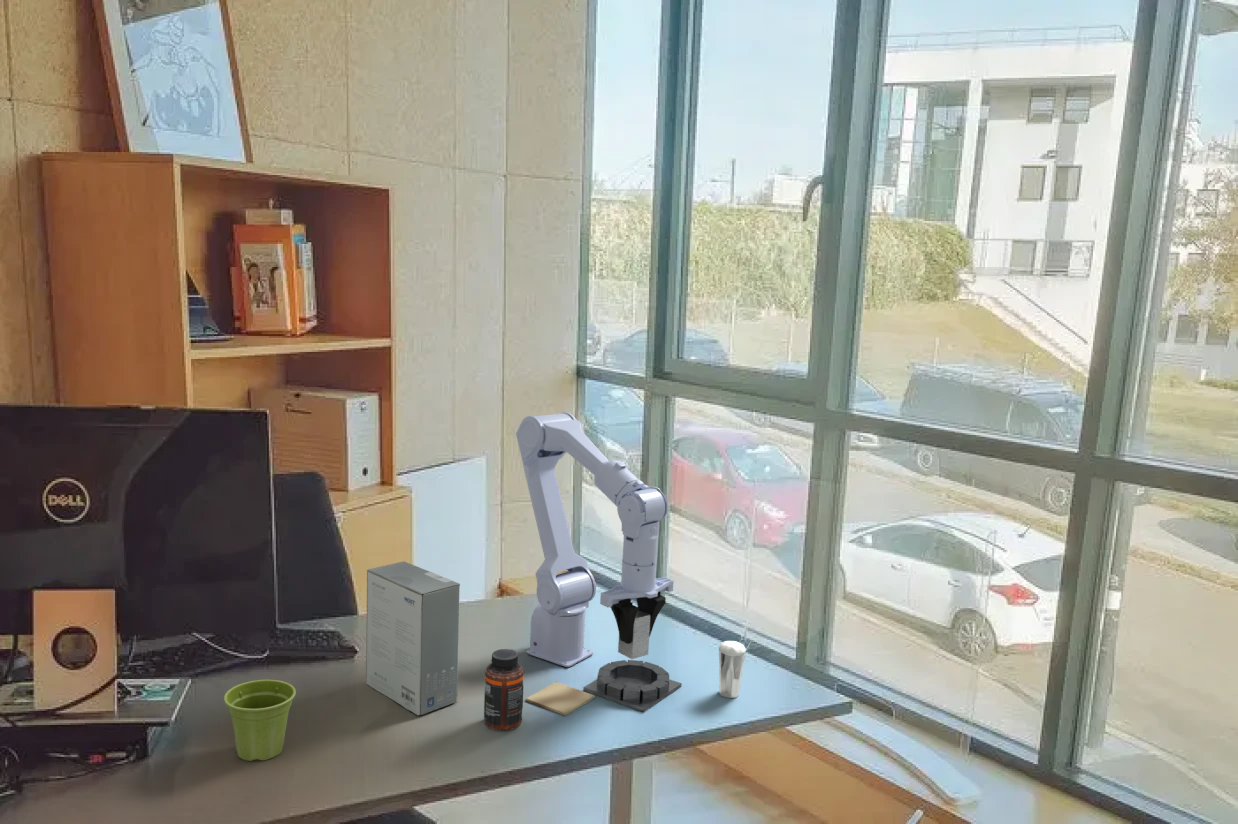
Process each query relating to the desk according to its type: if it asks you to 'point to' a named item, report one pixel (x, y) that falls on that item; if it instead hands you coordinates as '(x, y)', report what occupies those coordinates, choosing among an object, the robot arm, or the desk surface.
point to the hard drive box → (412, 636)
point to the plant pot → (259, 717)
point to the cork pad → (560, 698)
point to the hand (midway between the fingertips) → (634, 638)
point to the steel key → (637, 637)
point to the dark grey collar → (633, 684)
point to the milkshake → (730, 668)
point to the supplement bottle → (503, 691)
